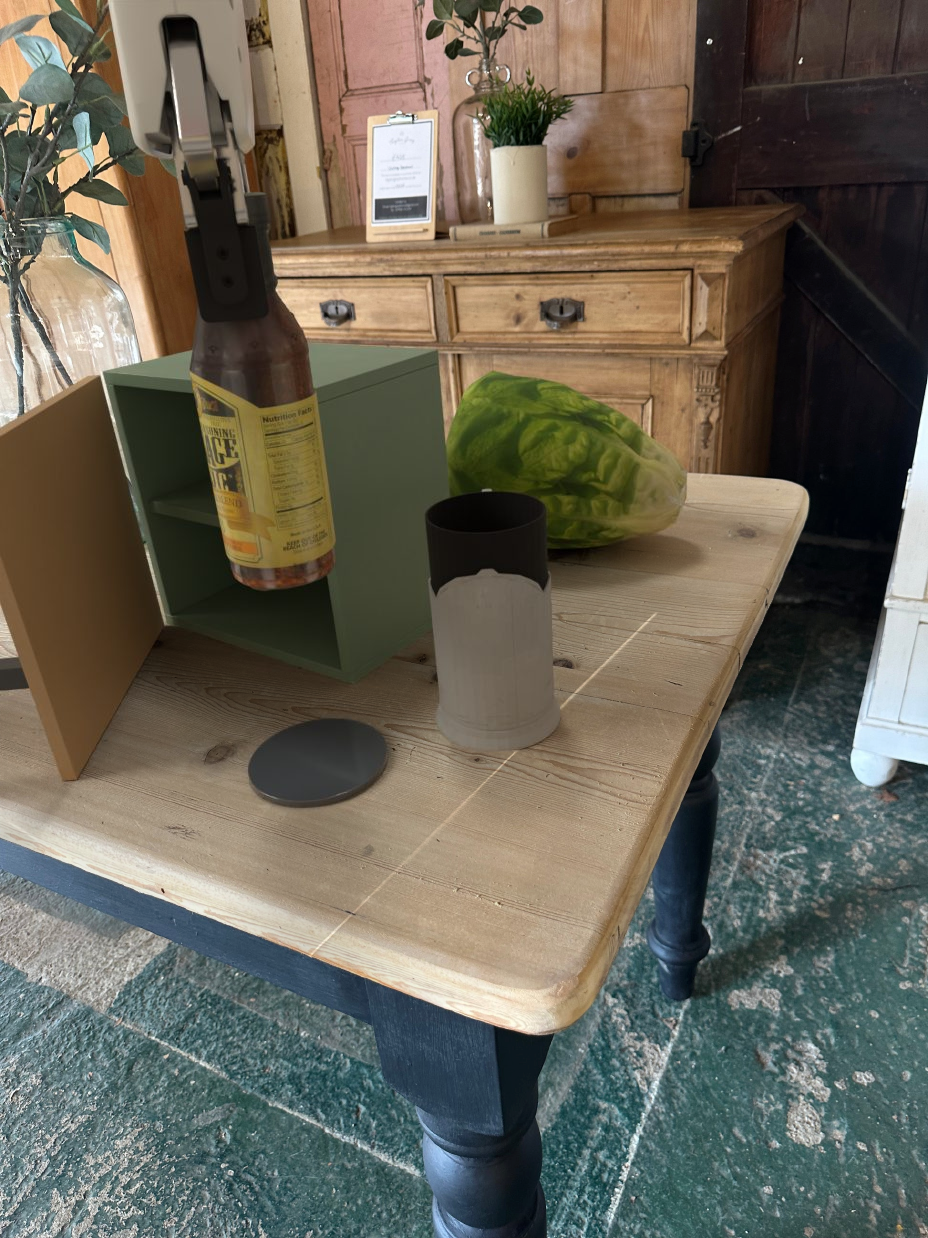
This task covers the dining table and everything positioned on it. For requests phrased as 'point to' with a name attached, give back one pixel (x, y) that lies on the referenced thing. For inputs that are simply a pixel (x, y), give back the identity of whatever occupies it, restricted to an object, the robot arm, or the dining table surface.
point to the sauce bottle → (264, 437)
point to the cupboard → (360, 500)
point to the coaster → (317, 763)
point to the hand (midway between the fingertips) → (238, 308)
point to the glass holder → (492, 620)
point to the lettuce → (564, 460)
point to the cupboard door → (72, 570)
